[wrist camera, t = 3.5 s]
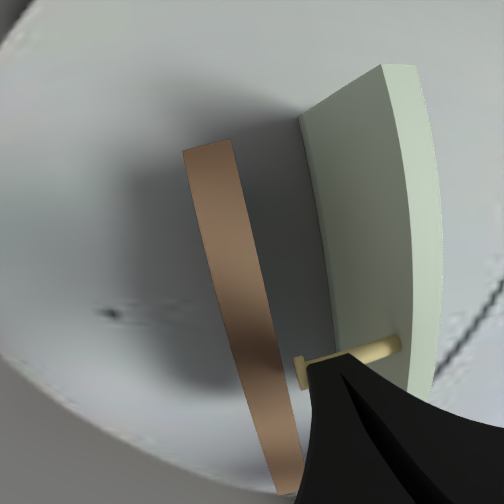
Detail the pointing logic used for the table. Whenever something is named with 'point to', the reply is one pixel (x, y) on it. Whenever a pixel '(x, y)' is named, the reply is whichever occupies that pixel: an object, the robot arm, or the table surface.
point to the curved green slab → (379, 224)
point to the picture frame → (245, 306)
